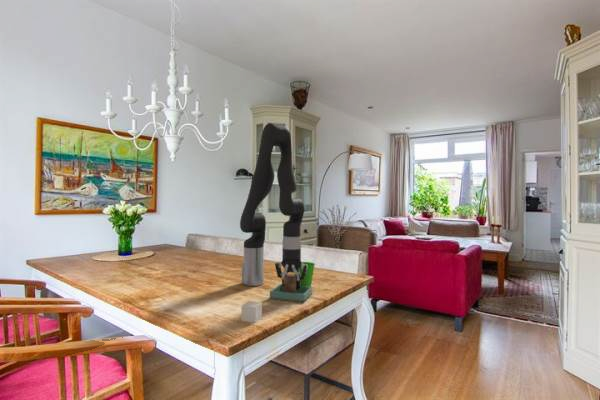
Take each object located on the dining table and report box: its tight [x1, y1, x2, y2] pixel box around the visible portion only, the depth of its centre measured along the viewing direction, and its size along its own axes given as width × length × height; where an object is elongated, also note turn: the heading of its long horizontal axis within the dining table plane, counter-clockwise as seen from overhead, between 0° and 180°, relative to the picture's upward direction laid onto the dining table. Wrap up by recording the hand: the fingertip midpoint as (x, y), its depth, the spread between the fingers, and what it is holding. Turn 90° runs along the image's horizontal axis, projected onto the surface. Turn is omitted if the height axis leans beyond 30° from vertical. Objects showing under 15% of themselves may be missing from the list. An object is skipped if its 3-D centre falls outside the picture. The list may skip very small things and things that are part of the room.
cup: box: [299, 261, 316, 287], centre depth 143 cm, size 9×9×11 cm
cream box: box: [241, 300, 263, 323], centre depth 107 cm, size 5×5×5 cm
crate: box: [269, 283, 313, 303], centre depth 132 cm, size 14×11×3 cm
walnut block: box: [283, 273, 298, 293], centre depth 132 cm, size 5×5×6 cm
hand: (291, 288), depth 132 cm, fingers closed on walnut block, 5 cm apart
